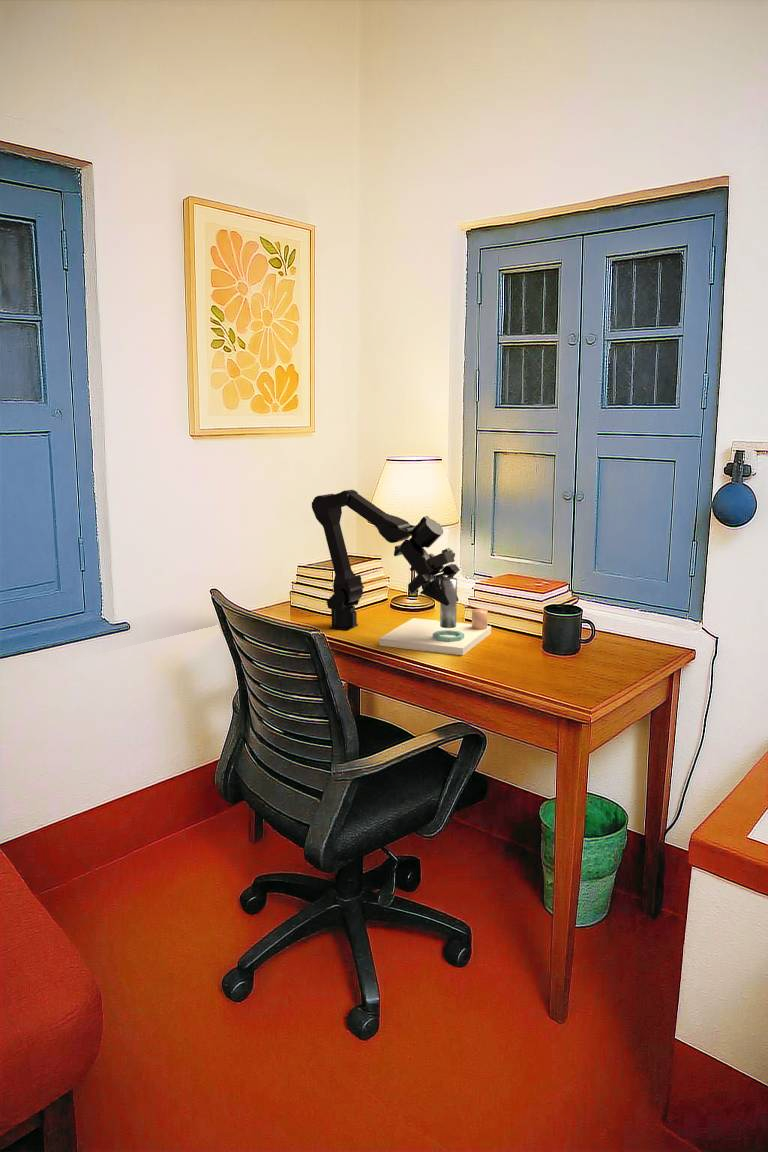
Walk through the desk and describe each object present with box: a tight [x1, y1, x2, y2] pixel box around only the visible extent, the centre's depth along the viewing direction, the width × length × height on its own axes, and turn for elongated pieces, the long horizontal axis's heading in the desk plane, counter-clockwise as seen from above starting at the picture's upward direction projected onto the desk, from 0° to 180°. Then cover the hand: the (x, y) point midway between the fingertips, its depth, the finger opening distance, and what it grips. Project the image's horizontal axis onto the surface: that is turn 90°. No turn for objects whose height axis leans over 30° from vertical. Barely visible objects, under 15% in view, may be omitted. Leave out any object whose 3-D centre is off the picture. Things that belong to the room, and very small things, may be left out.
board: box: [378, 617, 492, 656], centre depth 244 cm, size 24×24×3 cm
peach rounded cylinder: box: [471, 608, 489, 630], centre depth 247 cm, size 4×4×5 cm
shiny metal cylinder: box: [439, 577, 458, 628], centre depth 236 cm, size 4×4×13 cm
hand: (452, 603), depth 235 cm, fingers closed on shiny metal cylinder, 4 cm apart
